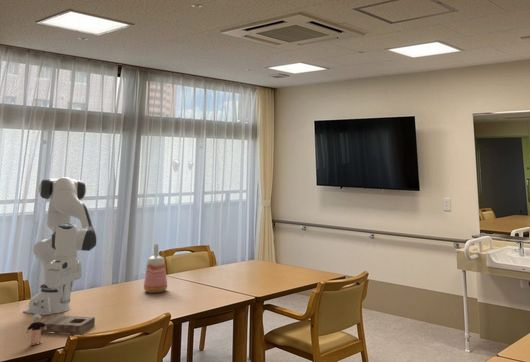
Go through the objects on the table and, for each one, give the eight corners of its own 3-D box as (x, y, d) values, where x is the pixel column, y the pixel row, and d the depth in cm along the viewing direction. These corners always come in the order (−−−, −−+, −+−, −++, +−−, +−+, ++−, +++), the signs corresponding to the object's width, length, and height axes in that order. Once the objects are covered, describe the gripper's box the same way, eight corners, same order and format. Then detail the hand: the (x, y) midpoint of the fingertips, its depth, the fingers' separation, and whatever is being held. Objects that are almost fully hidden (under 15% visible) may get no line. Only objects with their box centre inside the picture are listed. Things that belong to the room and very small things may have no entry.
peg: (57, 303, 178) (58, 279, 178) (63, 300, 182) (63, 277, 182) (66, 303, 177) (67, 280, 177) (72, 301, 181) (72, 278, 181)
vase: (145, 288, 270) (146, 242, 270) (168, 288, 272) (169, 242, 272) (141, 294, 256) (142, 246, 256) (165, 294, 257) (166, 246, 258)
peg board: (39, 332, 190) (39, 323, 190) (55, 323, 202) (55, 315, 202) (80, 334, 188) (80, 325, 188) (94, 325, 200) (94, 317, 200)
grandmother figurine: (28, 347, 172) (28, 317, 172) (24, 345, 175) (25, 315, 175) (47, 342, 178) (48, 313, 178) (44, 340, 181) (44, 311, 181)
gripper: (72, 257, 190) (72, 287, 190) (43, 265, 170) (43, 299, 170) (85, 257, 189) (85, 288, 189) (58, 266, 169) (57, 300, 169)
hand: (65, 293), depth 179 cm, fingers closed on peg, 4 cm apart
